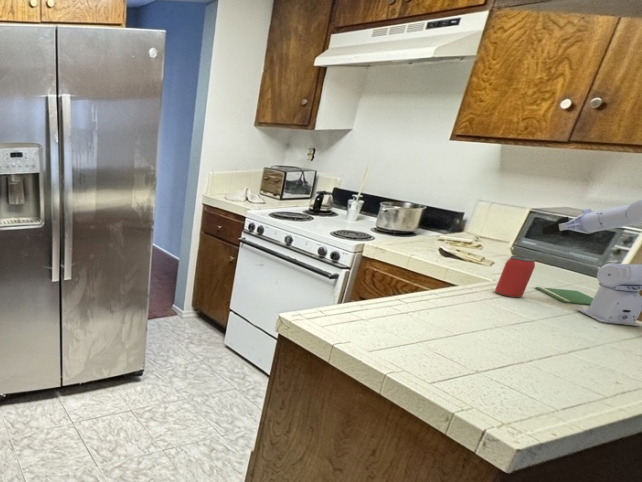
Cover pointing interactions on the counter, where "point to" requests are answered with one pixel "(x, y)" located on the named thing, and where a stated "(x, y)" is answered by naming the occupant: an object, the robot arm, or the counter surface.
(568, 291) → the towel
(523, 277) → the beer can
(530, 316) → the counter surface
